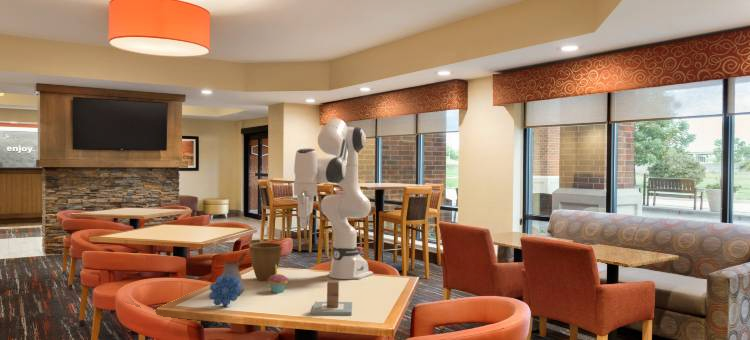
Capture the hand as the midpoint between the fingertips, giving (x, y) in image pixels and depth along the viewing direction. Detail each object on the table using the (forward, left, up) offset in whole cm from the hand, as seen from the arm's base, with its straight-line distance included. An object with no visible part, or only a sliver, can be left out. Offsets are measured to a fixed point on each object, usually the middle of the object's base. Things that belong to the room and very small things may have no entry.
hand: (305, 227), depth 207 cm
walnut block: (0, +15, -28) cm, 32 cm away
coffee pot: (+6, -34, -29) cm, 45 cm away
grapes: (+22, -19, -29) cm, 41 cm away
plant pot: (-18, -44, -29) cm, 56 cm away
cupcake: (-6, -22, -29) cm, 37 cm away
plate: (0, +15, -29) cm, 33 cm away
